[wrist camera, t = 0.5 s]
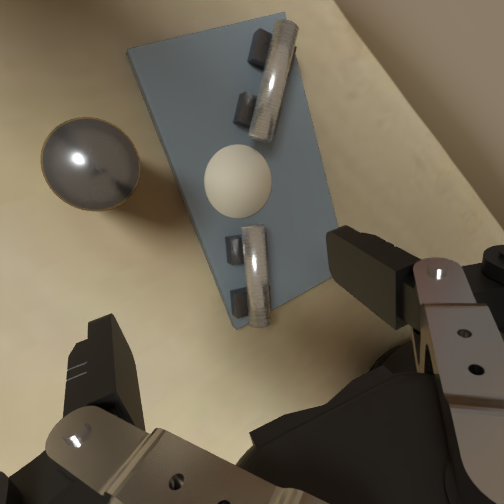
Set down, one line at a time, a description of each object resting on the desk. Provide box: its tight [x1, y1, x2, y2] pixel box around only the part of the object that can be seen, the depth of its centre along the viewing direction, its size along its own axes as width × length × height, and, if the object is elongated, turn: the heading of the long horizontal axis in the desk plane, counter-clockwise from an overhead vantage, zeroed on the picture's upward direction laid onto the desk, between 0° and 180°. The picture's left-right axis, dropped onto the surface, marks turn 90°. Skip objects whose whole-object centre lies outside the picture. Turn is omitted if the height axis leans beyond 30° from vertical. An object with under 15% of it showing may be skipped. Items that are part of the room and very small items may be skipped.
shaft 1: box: [233, 19, 299, 142], centre depth 30 cm, size 9×4×4 cm, turn 165°
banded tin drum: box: [41, 117, 141, 211], centre depth 23 cm, size 5×5×10 cm
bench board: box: [126, 12, 338, 330], centre depth 33 cm, size 25×14×1 cm, turn 20°
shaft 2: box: [225, 224, 272, 328], centre depth 33 cm, size 9×4×4 cm, turn 5°
